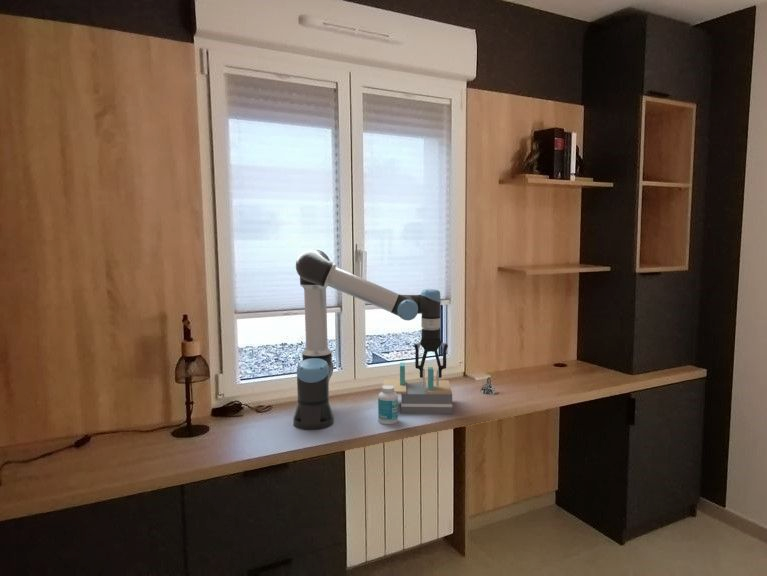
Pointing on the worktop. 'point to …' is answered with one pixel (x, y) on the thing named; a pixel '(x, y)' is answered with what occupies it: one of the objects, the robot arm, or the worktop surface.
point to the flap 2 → (432, 387)
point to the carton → (424, 401)
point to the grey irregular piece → (489, 388)
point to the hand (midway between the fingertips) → (430, 385)
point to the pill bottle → (387, 406)
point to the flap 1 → (398, 381)
